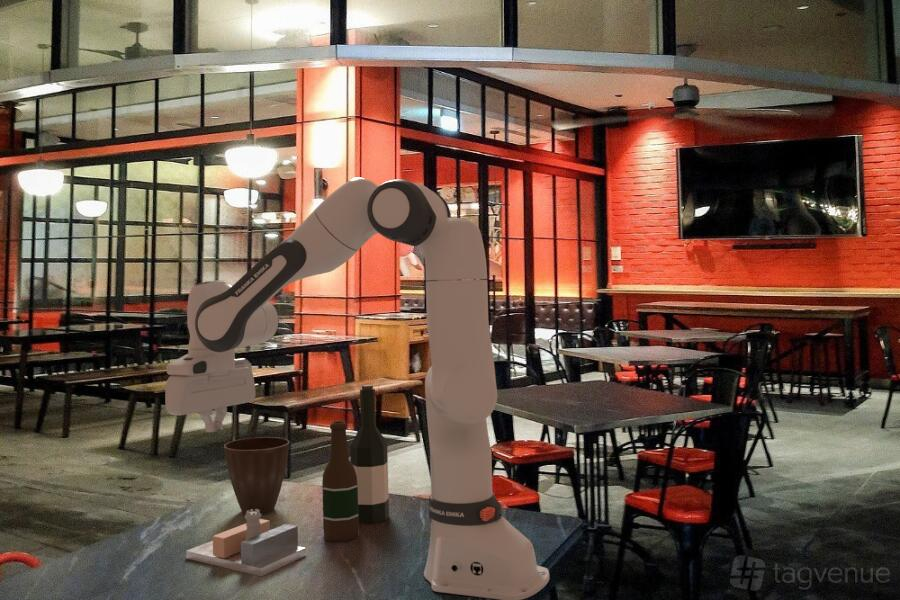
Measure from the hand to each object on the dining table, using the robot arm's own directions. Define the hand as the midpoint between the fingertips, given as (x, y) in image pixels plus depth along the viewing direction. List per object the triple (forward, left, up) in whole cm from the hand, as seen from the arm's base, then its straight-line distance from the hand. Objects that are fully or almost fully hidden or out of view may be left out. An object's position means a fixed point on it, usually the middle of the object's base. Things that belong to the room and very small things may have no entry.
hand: (214, 431), depth 150 cm
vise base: (-8, 0, -24) cm, 25 cm away
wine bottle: (-15, -31, -24) cm, 42 cm away
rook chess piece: (-11, +1, -23) cm, 25 cm away
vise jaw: (-7, 0, -22) cm, 23 cm away
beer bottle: (-17, -18, -24) cm, 35 cm away
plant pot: (+12, -24, -24) cm, 36 cm away
